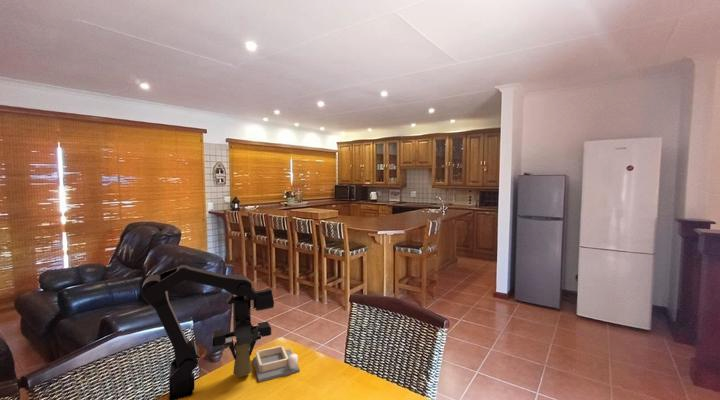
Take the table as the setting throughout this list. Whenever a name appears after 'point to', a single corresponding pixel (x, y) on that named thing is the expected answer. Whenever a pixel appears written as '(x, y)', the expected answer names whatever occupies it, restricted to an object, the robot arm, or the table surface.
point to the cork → (242, 360)
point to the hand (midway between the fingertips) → (242, 356)
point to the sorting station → (275, 363)
